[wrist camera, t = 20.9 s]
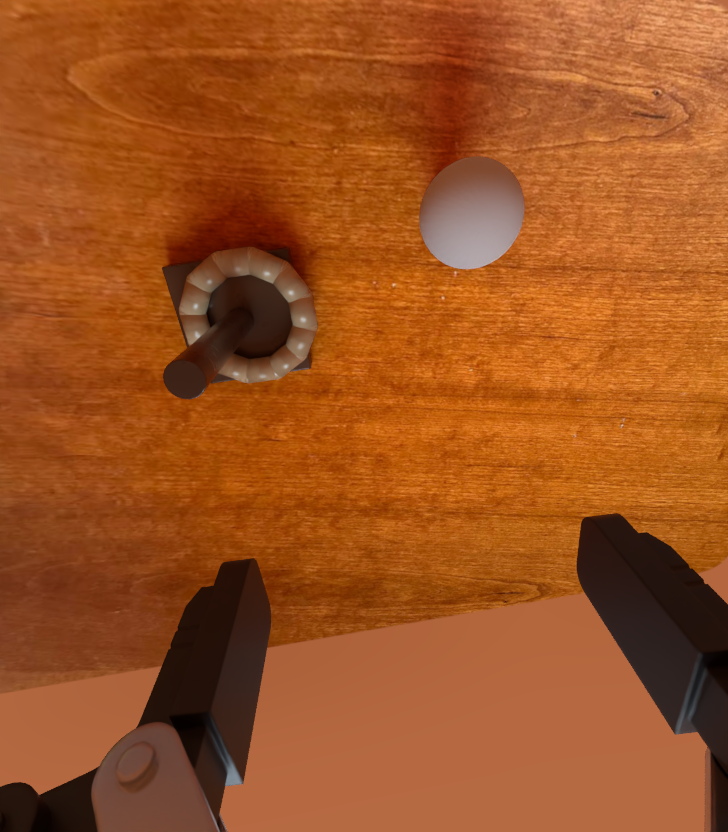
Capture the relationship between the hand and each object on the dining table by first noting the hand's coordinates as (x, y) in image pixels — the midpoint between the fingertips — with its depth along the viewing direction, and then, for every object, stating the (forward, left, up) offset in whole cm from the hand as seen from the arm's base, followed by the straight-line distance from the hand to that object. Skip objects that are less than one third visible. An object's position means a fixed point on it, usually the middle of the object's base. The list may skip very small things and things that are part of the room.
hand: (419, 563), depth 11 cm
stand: (-2, -9, -26) cm, 28 cm away
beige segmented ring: (-2, -8, -24) cm, 25 cm away
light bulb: (-7, +7, -27) cm, 28 cm away
